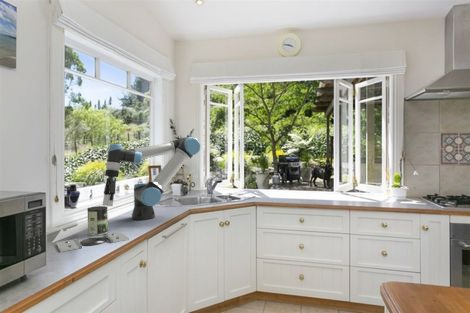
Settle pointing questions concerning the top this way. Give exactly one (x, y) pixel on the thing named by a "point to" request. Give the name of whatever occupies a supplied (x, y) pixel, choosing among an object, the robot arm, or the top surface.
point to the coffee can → (97, 220)
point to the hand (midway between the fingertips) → (107, 206)
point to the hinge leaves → (90, 241)
